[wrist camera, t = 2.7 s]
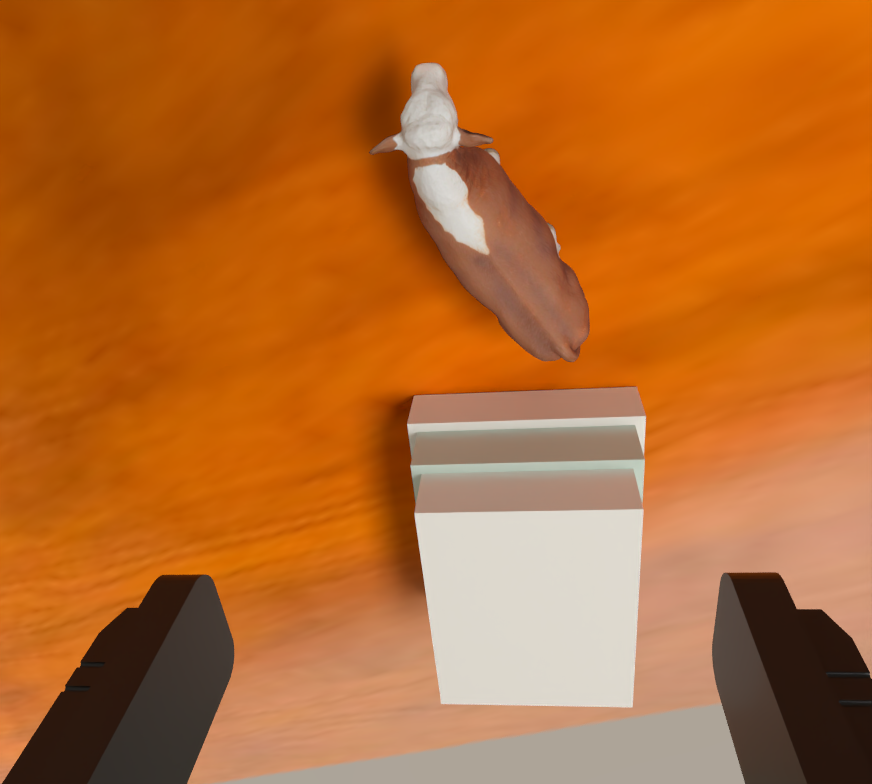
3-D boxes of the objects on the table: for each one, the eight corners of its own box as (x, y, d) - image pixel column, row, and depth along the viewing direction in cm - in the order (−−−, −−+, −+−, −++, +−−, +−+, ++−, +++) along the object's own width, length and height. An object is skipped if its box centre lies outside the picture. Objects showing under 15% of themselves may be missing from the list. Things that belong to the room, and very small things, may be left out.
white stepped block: (413, 395, 39) (389, 495, 32) (636, 386, 38) (668, 490, 30) (439, 594, 47) (425, 715, 39) (627, 593, 45) (651, 720, 37)
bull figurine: (457, 35, 30) (441, 50, 23) (596, 292, 36) (617, 367, 28) (374, 93, 32) (334, 122, 25) (518, 331, 37) (520, 412, 30)
